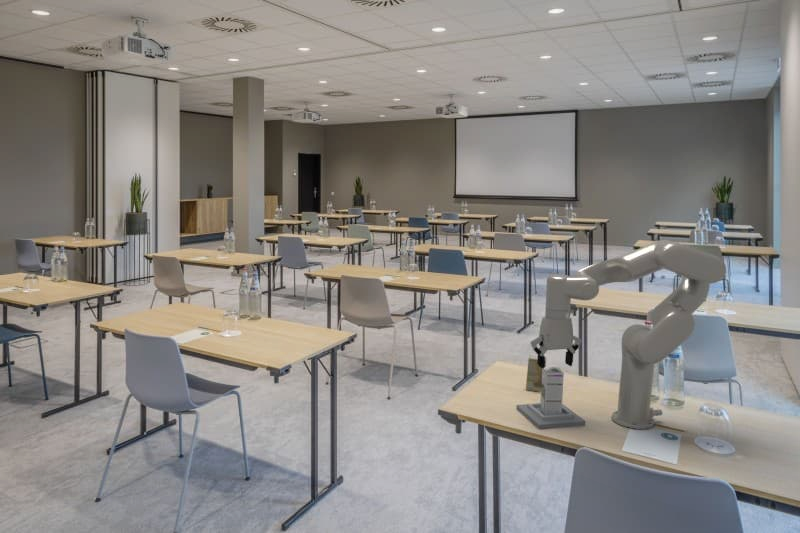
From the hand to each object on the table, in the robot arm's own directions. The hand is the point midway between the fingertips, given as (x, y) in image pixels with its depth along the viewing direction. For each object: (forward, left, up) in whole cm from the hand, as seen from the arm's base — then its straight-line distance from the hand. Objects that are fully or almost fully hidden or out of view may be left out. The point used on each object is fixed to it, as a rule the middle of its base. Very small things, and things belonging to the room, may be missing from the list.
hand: (555, 365), depth 187 cm
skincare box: (-7, -24, -18) cm, 31 cm away
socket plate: (0, 0, -17) cm, 17 cm away
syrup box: (0, 0, -16) cm, 16 cm away
